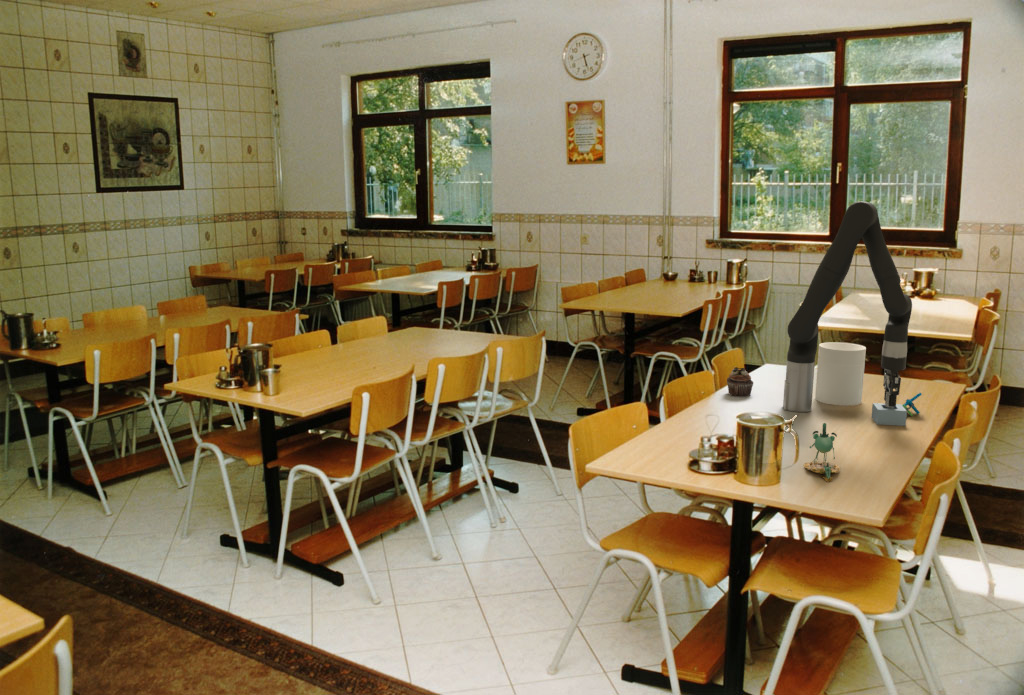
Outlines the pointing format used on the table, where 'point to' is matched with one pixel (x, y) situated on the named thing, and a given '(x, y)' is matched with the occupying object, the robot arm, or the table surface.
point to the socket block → (889, 414)
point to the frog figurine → (823, 446)
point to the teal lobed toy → (911, 404)
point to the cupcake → (739, 383)
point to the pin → (888, 401)
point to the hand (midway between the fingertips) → (889, 403)
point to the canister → (840, 373)
